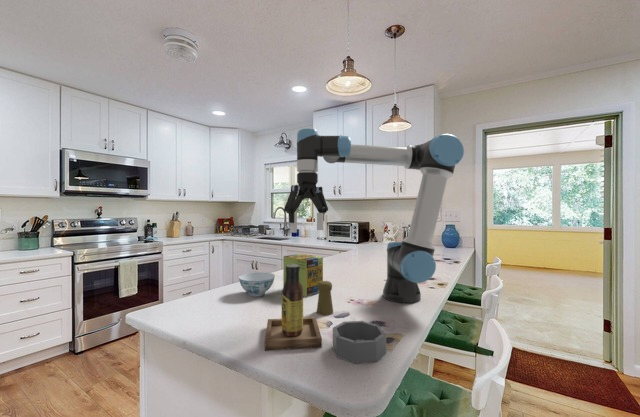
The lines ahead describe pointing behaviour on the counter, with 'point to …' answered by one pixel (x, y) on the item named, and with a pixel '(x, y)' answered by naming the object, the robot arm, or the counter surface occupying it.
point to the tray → (281, 342)
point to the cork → (324, 298)
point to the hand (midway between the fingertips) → (307, 231)
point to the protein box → (306, 271)
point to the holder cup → (359, 342)
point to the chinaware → (256, 282)
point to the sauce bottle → (292, 302)
